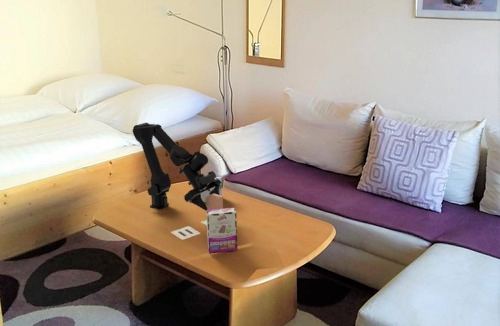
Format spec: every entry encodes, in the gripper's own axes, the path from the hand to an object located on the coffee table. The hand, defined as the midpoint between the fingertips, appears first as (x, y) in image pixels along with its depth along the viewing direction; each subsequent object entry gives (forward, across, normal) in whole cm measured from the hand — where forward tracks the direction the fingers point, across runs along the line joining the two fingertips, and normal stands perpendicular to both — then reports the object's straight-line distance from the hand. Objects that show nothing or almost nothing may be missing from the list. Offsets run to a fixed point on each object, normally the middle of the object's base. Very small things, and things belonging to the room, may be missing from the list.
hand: (213, 206), depth 231 cm
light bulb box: (-7, +19, +19) cm, 28 cm away
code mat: (+5, -7, +7) cm, 11 cm away
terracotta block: (+6, 0, +5) cm, 7 cm away
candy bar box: (+18, -16, -6) cm, 25 cm away
